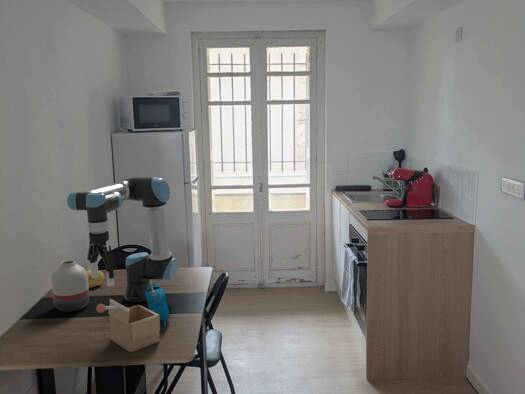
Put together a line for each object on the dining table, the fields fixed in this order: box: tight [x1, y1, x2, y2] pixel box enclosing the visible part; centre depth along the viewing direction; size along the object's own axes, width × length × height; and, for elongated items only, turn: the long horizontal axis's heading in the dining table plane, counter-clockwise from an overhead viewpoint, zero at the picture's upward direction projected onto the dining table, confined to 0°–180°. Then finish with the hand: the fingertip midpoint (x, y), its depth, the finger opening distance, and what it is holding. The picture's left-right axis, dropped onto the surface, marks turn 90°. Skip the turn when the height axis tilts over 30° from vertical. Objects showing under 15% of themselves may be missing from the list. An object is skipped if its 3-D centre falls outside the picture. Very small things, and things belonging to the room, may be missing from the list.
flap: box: [95, 298, 130, 324], centre depth 208 cm, size 16×7×10 cm
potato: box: [86, 269, 105, 289], centre depth 284 cm, size 10×14×10 cm
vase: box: [51, 259, 90, 313], centre depth 254 cm, size 17×17×24 cm
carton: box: [108, 304, 161, 353], centre depth 218 cm, size 17×15×12 cm
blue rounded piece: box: [146, 280, 171, 327], centre depth 236 cm, size 17×10×20 cm, turn 15°
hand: (103, 281), depth 209 cm, fingers open, 13 cm apart
